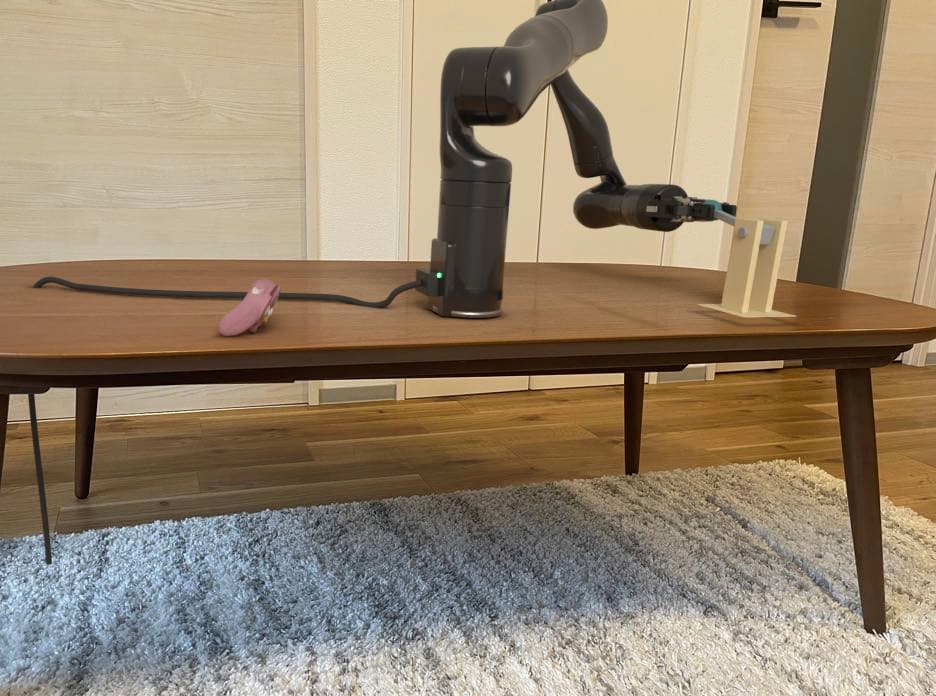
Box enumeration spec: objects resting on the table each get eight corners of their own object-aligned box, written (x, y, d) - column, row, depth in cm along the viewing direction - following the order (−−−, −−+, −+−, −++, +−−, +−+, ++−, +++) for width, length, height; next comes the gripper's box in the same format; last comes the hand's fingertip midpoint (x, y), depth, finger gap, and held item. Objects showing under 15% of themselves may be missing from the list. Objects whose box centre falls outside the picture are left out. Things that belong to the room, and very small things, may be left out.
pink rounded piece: (250, 352, 86) (278, 297, 84) (213, 332, 85) (240, 276, 83) (266, 333, 95) (291, 283, 93) (232, 315, 94) (257, 265, 93)
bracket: (695, 312, 114) (710, 216, 110) (745, 311, 117) (762, 217, 113) (742, 325, 105) (760, 221, 101) (795, 324, 108) (815, 223, 104)
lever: (692, 217, 118) (698, 196, 117) (709, 218, 119) (716, 197, 118) (752, 247, 107) (760, 224, 105) (771, 247, 108) (779, 224, 106)
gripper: (619, 182, 127) (686, 184, 111) (692, 185, 131) (767, 187, 115) (614, 229, 129) (679, 238, 113) (686, 230, 133) (758, 238, 117)
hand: (723, 212), depth 114 cm, fingers closed on lever, 3 cm apart
